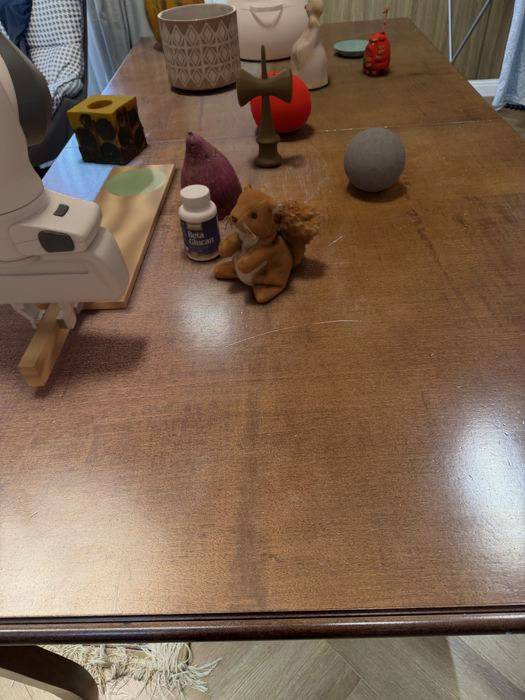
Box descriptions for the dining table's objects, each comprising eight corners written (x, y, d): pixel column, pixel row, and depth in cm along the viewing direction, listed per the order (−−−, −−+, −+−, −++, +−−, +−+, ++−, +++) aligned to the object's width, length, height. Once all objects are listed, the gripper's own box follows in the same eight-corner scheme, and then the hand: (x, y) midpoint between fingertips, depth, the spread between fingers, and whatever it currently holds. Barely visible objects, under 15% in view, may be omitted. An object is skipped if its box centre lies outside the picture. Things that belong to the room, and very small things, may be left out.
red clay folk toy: (356, 71, 134) (361, 4, 124) (379, 66, 136) (385, 0, 126) (372, 78, 129) (377, 9, 119) (395, 73, 131) (403, 5, 121)
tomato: (295, 115, 114) (294, 59, 106) (319, 137, 104) (320, 76, 96) (243, 125, 111) (238, 68, 103) (263, 148, 102) (259, 86, 94)
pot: (228, 42, 165) (222, -19, 153) (309, 37, 164) (309, -26, 152) (222, 68, 144) (215, -1, 133) (315, 61, 143) (315, -8, 132)
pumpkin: (141, 53, 161) (121, -45, 144) (171, 38, 174) (156, -54, 156) (191, 56, 155) (177, -46, 138) (219, 40, 168) (209, -56, 150)
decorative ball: (413, 191, 85) (423, 131, 78) (366, 208, 82) (371, 147, 75) (376, 170, 91) (381, 113, 84) (330, 185, 88) (333, 127, 81)
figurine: (286, 78, 134) (284, -14, 120) (325, 75, 134) (327, -17, 120) (289, 92, 125) (287, -5, 112) (331, 89, 125) (334, -9, 111)
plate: (99, 204, 89) (97, 197, 88) (114, 175, 97) (113, 169, 96) (162, 201, 88) (160, 195, 87) (172, 173, 96) (171, 167, 95)
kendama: (245, 157, 99) (235, 41, 85) (294, 156, 98) (292, 38, 84) (242, 171, 95) (231, 51, 81) (293, 169, 94) (291, 47, 80)
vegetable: (210, 243, 83) (183, 169, 70) (175, 213, 88) (144, 140, 75) (258, 207, 85) (240, 130, 73) (222, 180, 90) (199, 104, 78)
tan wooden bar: (58, 386, 55) (48, 366, 53) (14, 386, 56) (2, 367, 54) (102, 282, 68) (95, 263, 66) (67, 283, 69) (59, 264, 66)
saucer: (381, 56, 143) (381, 47, 142) (342, 61, 142) (342, 52, 140) (364, 46, 152) (364, 37, 150) (327, 51, 150) (327, 43, 148)
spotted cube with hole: (148, 145, 106) (137, 95, 99) (125, 166, 100) (112, 113, 93) (106, 142, 109) (93, 93, 102) (81, 162, 102) (65, 110, 95)
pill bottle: (189, 265, 73) (178, 203, 66) (183, 246, 77) (171, 186, 70) (225, 257, 74) (217, 195, 67) (217, 239, 78) (209, 179, 71)
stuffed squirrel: (208, 277, 71) (194, 189, 62) (286, 240, 76) (283, 155, 67) (250, 311, 65) (241, 220, 56) (331, 269, 70) (335, 179, 61)
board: (38, 310, 68) (35, 303, 67) (114, 172, 98) (113, 166, 97) (125, 308, 67) (123, 301, 66) (175, 169, 97) (174, 163, 96)
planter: (255, 76, 137) (250, 4, 125) (218, 99, 125) (209, 22, 113) (195, 71, 144) (186, 2, 132) (155, 92, 132) (141, 18, 120)
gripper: (-107, 242, 49) (-40, 345, 59) (98, 236, 48) (132, 342, 57) (-74, 210, 54) (-16, 310, 63) (114, 203, 52) (144, 307, 62)
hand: (56, 325), depth 60 cm, fingers closed on tan wooden bar, 2 cm apart
